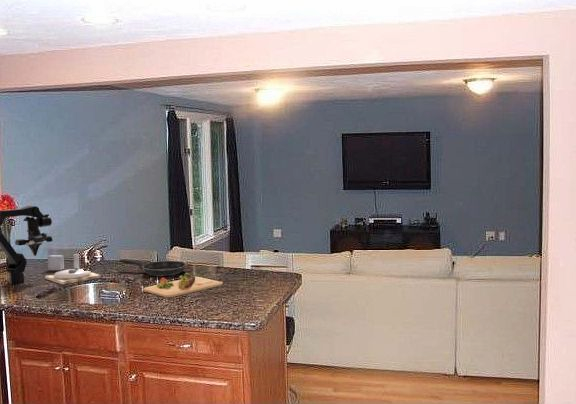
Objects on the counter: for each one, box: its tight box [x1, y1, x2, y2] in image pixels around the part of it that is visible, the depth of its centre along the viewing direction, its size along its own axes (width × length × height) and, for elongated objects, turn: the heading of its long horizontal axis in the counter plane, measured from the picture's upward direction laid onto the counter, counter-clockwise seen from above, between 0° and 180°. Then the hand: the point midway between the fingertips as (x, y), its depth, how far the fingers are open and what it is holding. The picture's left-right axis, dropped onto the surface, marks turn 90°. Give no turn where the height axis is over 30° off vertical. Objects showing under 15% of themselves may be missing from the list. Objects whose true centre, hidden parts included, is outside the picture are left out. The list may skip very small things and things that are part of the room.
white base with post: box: [54, 253, 92, 279], centre depth 330 cm, size 19×19×10 cm
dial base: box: [44, 271, 101, 285], centre depth 331 cm, size 22×22×2 cm
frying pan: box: [118, 258, 187, 277], centre depth 342 cm, size 44×25×7 cm, turn 67°
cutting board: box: [142, 272, 224, 298], centre depth 302 cm, size 35×23×8 cm
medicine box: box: [47, 254, 65, 271], centre depth 355 cm, size 8×4×9 cm, turn 84°
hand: (35, 255), depth 331 cm, fingers closed
